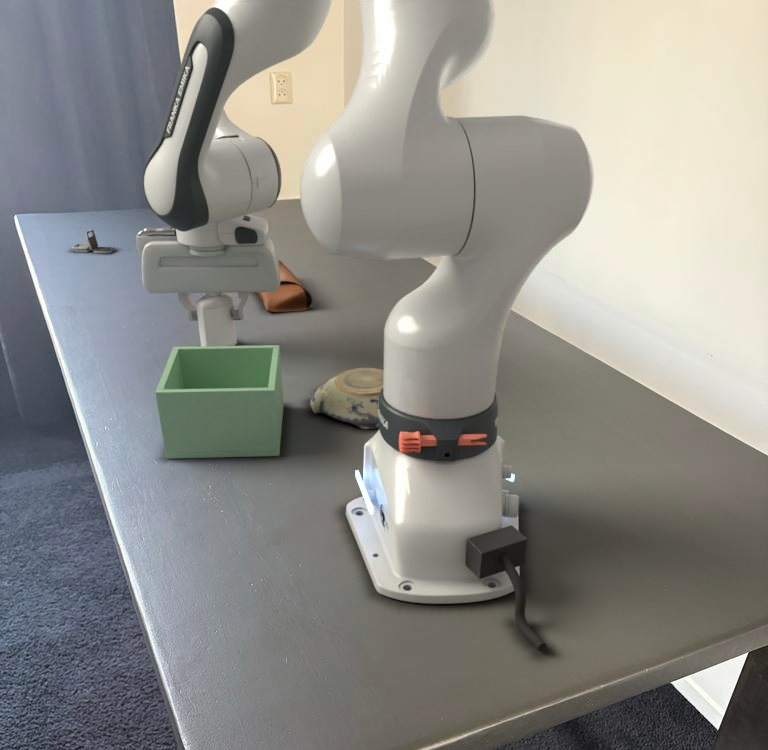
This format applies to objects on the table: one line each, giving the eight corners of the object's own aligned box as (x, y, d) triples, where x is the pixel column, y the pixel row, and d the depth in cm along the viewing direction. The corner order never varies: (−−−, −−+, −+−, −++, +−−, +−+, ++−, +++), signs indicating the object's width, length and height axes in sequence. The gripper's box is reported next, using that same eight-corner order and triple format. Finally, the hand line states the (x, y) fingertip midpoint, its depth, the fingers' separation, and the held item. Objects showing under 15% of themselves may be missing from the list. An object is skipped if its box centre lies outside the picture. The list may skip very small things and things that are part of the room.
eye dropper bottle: (238, 351, 124) (231, 274, 117) (201, 353, 122) (192, 276, 116) (236, 340, 127) (229, 265, 120) (201, 343, 126) (191, 267, 119)
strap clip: (71, 251, 167) (66, 231, 164) (77, 247, 169) (73, 227, 167) (109, 254, 166) (105, 233, 163) (115, 249, 168) (111, 229, 166)
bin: (279, 456, 97) (274, 390, 92) (166, 458, 96) (155, 392, 91) (283, 406, 108) (279, 345, 103) (182, 408, 107) (173, 346, 102)
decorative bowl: (301, 387, 113) (323, 435, 101) (300, 363, 111) (322, 408, 99) (402, 377, 117) (435, 422, 104) (403, 354, 115) (436, 396, 102)
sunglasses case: (242, 280, 150) (257, 248, 148) (274, 295, 154) (289, 264, 152) (266, 312, 136) (283, 277, 134) (301, 327, 140) (318, 293, 138)
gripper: (129, 233, 111) (144, 327, 119) (275, 232, 112) (281, 325, 120) (137, 221, 116) (152, 313, 124) (277, 221, 118) (283, 311, 125)
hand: (216, 319), depth 122 cm, fingers closed on eye dropper bottle, 5 cm apart
